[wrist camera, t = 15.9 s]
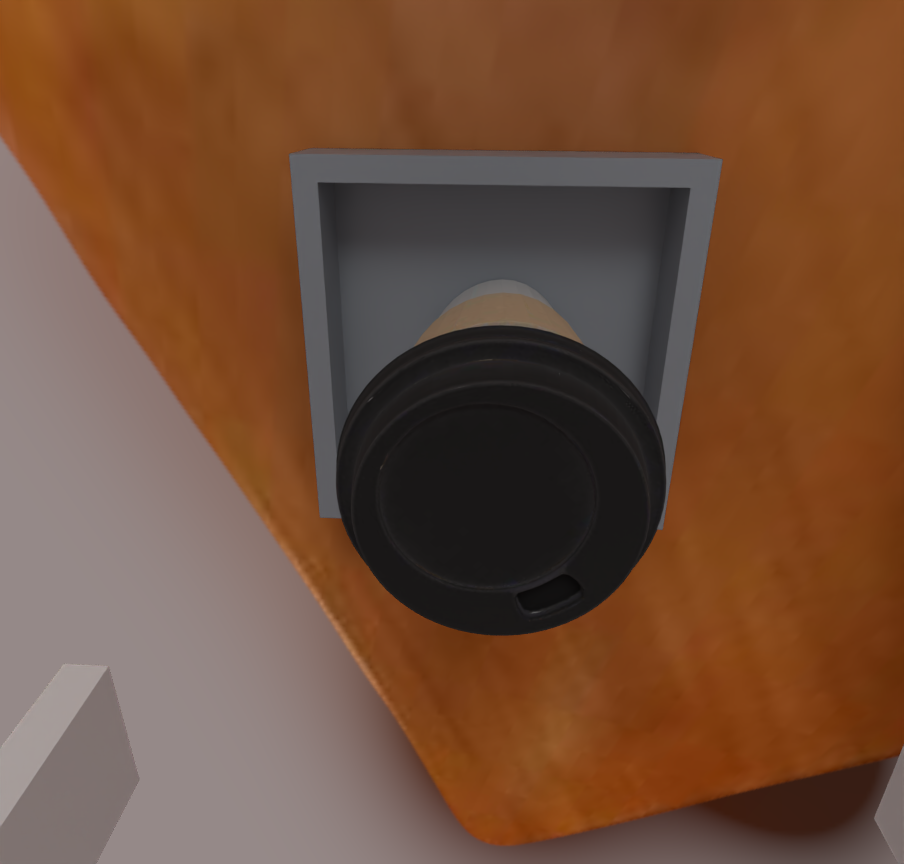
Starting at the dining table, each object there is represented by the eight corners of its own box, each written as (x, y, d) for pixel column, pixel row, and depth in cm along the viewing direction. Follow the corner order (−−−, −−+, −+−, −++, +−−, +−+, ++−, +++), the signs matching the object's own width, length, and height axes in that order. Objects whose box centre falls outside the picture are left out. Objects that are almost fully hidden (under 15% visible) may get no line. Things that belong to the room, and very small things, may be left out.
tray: (310, 148, 29) (289, 153, 26) (697, 152, 29) (722, 159, 26) (334, 481, 36) (319, 517, 33) (647, 491, 36) (662, 529, 32)
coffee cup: (525, 466, 35) (544, 704, 21) (358, 370, 33) (262, 560, 19) (646, 309, 31) (762, 476, 17) (464, 191, 29) (437, 273, 16)
